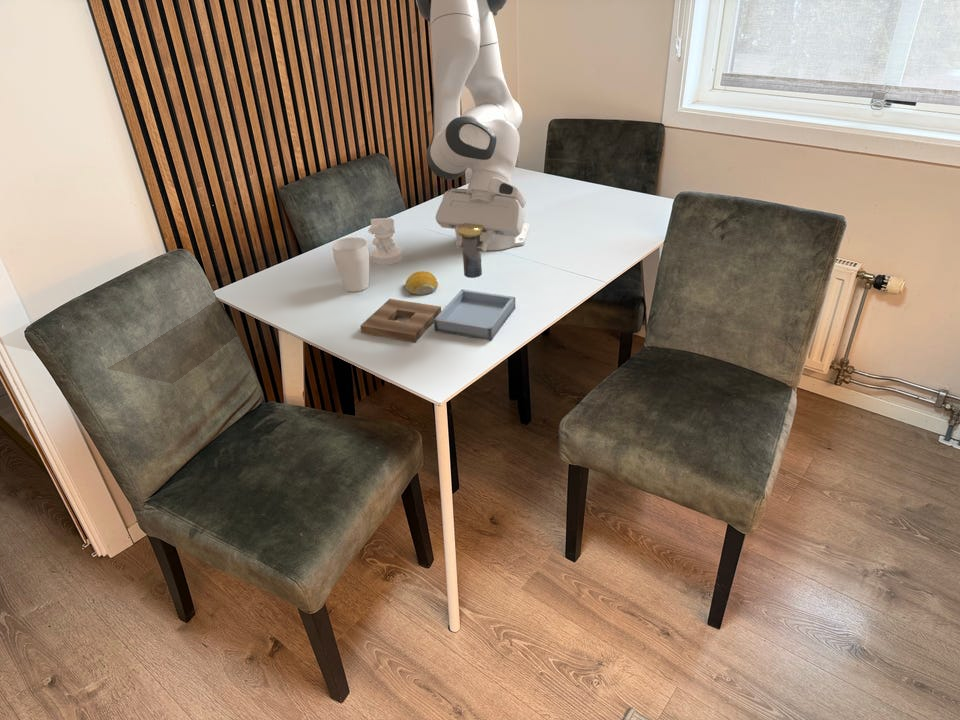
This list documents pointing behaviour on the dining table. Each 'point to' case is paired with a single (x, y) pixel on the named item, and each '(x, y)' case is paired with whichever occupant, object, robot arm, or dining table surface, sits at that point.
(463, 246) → the pin
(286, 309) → the dining table surface
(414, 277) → the bread roll
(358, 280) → the cup
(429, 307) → the socket block
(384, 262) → the character figurine
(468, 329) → the tray
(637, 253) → the dining table surface
